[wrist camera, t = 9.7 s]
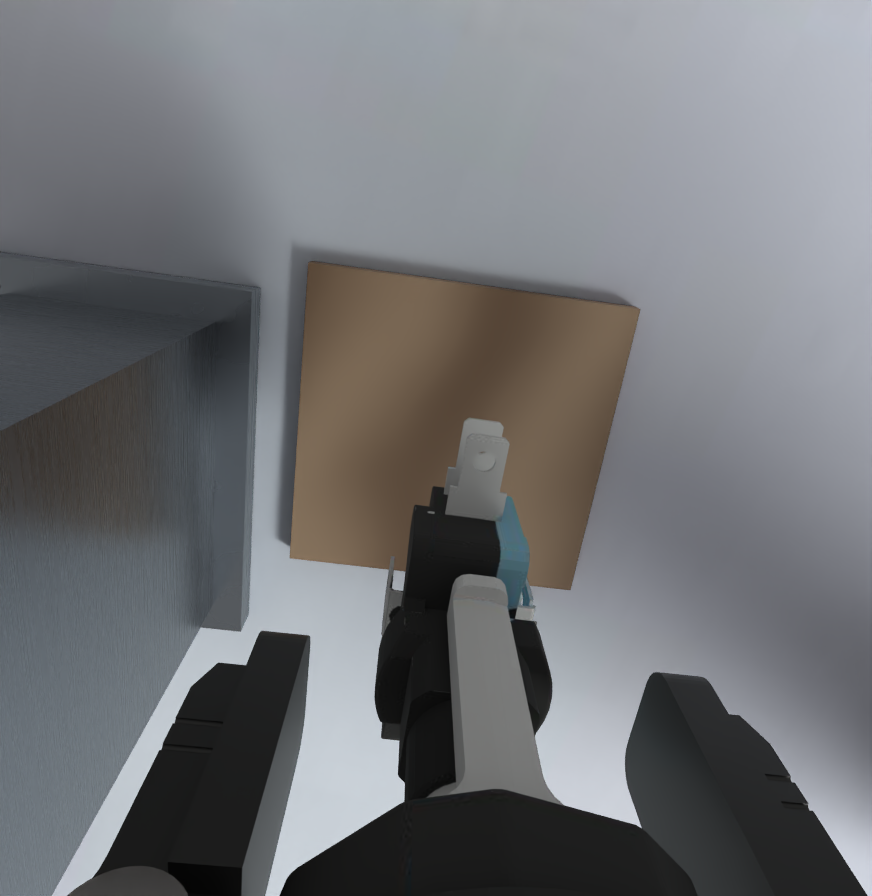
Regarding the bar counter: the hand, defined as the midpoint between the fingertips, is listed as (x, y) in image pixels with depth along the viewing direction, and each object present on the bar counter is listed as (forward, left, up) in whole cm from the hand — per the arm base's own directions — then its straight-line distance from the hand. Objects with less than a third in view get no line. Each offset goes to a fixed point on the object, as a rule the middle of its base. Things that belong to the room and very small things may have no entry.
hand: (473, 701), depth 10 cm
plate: (0, 0, -12) cm, 12 cm away
